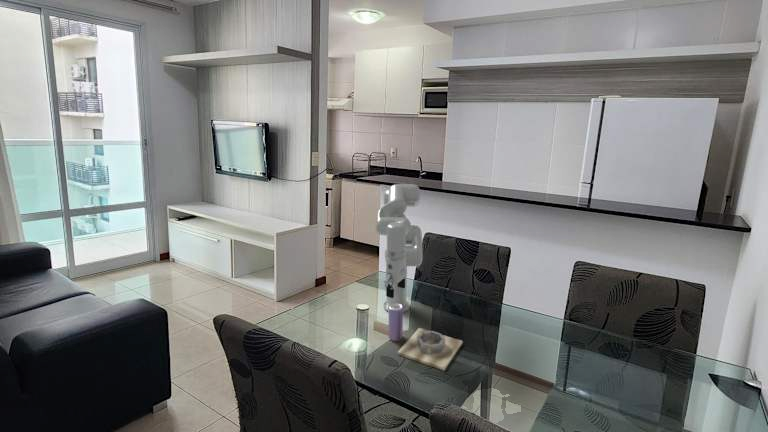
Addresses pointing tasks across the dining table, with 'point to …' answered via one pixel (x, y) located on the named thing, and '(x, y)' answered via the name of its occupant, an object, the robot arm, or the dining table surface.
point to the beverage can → (395, 322)
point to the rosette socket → (431, 348)
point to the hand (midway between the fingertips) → (395, 292)
